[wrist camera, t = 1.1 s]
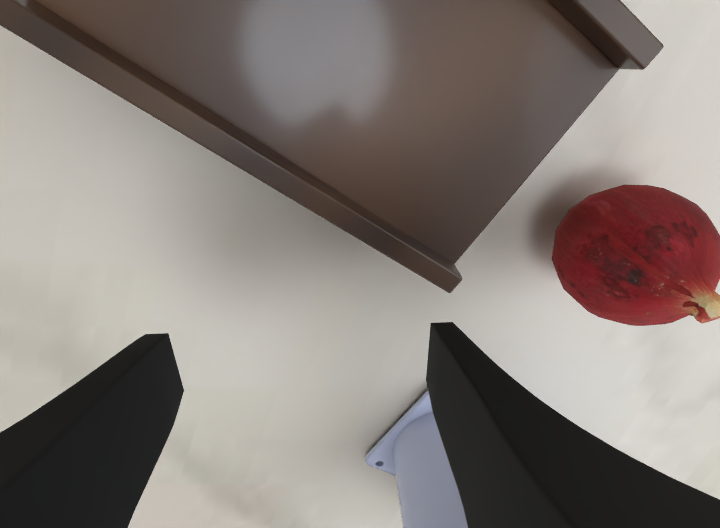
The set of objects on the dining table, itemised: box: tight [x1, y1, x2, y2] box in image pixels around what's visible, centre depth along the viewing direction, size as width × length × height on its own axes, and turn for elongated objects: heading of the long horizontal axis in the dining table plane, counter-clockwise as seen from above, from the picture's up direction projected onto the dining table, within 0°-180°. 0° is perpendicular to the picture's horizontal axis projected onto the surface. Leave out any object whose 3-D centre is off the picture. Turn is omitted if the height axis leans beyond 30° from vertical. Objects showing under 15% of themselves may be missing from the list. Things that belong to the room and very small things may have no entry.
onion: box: [552, 185, 720, 326], centre depth 17 cm, size 6×6×8 cm
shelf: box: [0, 0, 663, 293], centre depth 14 cm, size 16×10×6 cm, turn 56°
